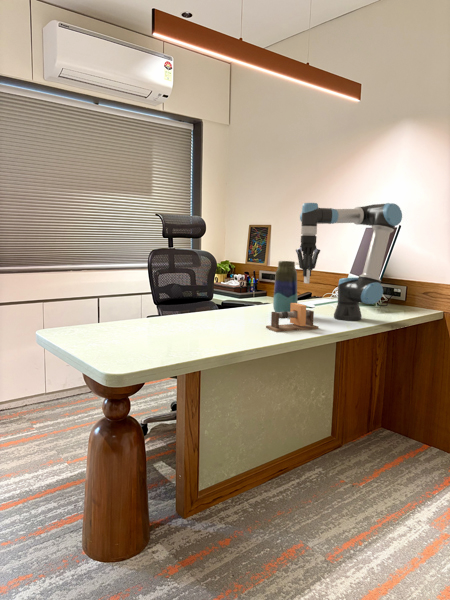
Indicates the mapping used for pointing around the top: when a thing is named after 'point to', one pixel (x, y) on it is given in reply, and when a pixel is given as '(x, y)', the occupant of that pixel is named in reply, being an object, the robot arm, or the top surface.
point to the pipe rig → (290, 327)
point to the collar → (298, 314)
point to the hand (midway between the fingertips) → (306, 283)
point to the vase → (285, 286)
